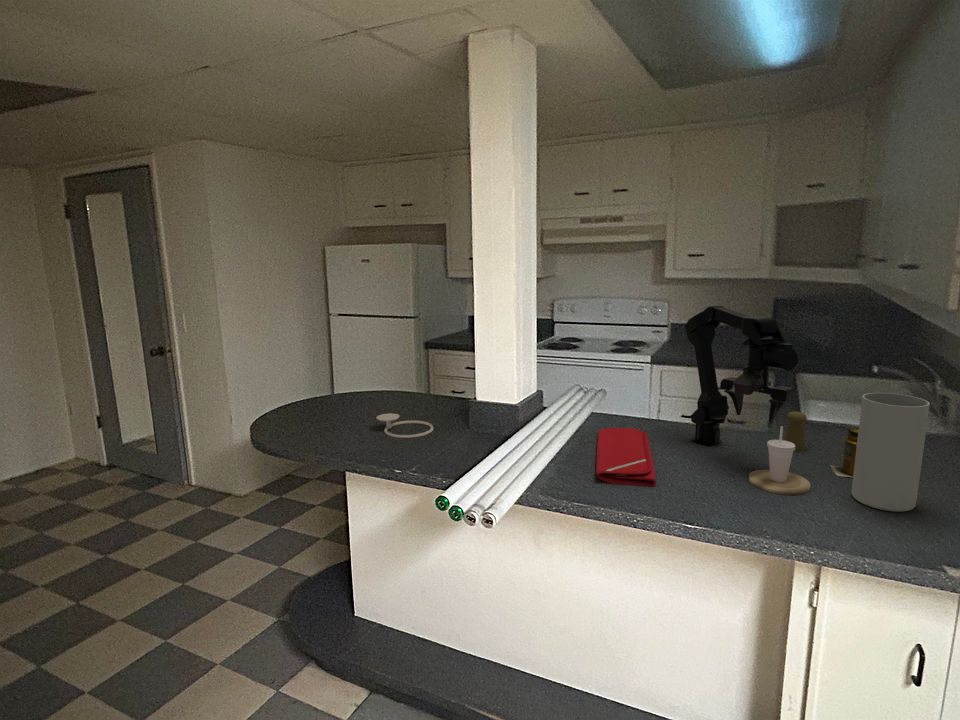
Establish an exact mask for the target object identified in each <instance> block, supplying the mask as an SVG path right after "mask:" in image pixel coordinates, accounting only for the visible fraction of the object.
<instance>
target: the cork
mask: <svg viewBox="0 0 960 720" xmlns="http://www.w3.org/2000/svg"><path fill="white" fill-rule="evenodd" d="M807 420H808V417H807V415H806V414H805V413H804V412H801V411H795V410H794V411H789V412H788V413H787V415H786V421H788V423H787V427H786V431H785V434H784V439H783V440H784V441H789V442H791V443H793V444H795V450H794V451H797V452H802V451H805V450H806V436H805V435H806V434H805V432H806V431H805V423H807ZM794 451H793V452H794Z"/></svg>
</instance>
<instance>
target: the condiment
mask: <svg viewBox="0 0 960 720" xmlns="http://www.w3.org/2000/svg"><path fill="white" fill-rule="evenodd" d="M847 431H848V432H847V435H846V436H847V438H845V441H844V451H843V457H842V458H843V460H842V466H838V465H831V464H830V465H829V466H830V468H831V470H832V472H833V473H834V474H835V475H836V477H843V478H844V477H847V478H853V475H854V466H855V457H856V448H857V440H858V431H859V427H852V428H849V429H848V430H847Z"/></svg>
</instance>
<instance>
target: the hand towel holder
mask: <svg viewBox="0 0 960 720" xmlns="http://www.w3.org/2000/svg"><path fill="white" fill-rule="evenodd" d="M400 416H401V415H399V414H398V413H389V412H388V413H382V414H379V415H377V416H376V420H378V421H380V422H385V423H386V424H385V427H384V429H383V430H384V434H385V435H387V436H389V437H391V438H399V439H410V438H411V439H412V438H419V437H423V436H426V435H430V433H432V432H433V431H434V426H433V424H432V423H431V422H427V421H423V420H415V419H414V420H403V421H402V420H401V421H398V419H399V418H400ZM394 421H396V422H394ZM407 424H419V425H425V426H428V427H430V429H429V430H426V431H425V432H420V433H416V434H414V433H413V434H397V433H395V434H394V433H392V432H389V431H388V430H389V429H392V428H393V427H396V426H400V425H407Z"/></svg>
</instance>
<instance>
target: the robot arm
mask: <svg viewBox="0 0 960 720" xmlns="http://www.w3.org/2000/svg"><path fill="white" fill-rule="evenodd" d="M721 324H724V325H726V326H729V327H731V328H735V329H737V330H739V331H740V333H741V334H742V335H743V336H745V337H746V338H747V339H746V340H744V341H743V342H742V345H743V346H747V356H746V357H747V359H746V361H747V362H746V366H743V370H742V371H743V372H742V374H740V375H739V376H738V377H734V376H731V377H730V376H729V377H726V378H723V379H722V380H721V381H720V382H719V383H720V384H719V385H718V379H717V373H716V371H717V370H716V366H715V359H714V354H713V353H714V352H713V346H712V344H713V341H714V339H715V337H716V329H718V327H719V326H720V325H721ZM684 328H685V333H686V337H687V340H688V341H689V342H690V344H691V345H692V346H693V348H694V352H695V358H696V366H697V372H698V378H699V380H698V381H699V387H700V394H699V398H698V400H697V409H695V410H694V412H693V413H692V414H690V419H691V420H690V421H691V423H693V424H695V430H694V431H695V433H694V438H692V439H691V441H692V442H695V443H698V444H701V445H704V446H705V445H706V446H710V447H711V446H714V445H717V444H719V442H720V443H722V440H721V429H720V425H721V424H724V423H725V421H726V418H727V416H728V415H729V409H730V407H729V404H728V397H727V395H722V393H721V392H720V391H719V389H721V390H723V391H724V393H725V394H728V396H730V398H731V401H732V402H733V407H734V409H735V413H736V415H737V416H741V414H742V410H743V403H744V395H745V396H751V395H753V394H754V392H755V393H756V392H757V393H761V394H766V395H769V397H770V398H771V399H768V401H769V404H770V407H769V415H768V423H770V424H771V423H774V420H775V418H776V416H777V415H778V413H779V411H780V410H781V409H782V407H784V405H785V403H786V402H790V401H791V400H794V399H796V396H797V391H796V389H795V388H794V387H790V386H784V385H779V386H776V387H770V386H772V381H770V373H771V372H772V371H773V368H774V369H779V370H782V371H787V372H790V371H793V369H794V368H796V366H797V364H798V361H799V356H798V353H797V351H796V350H795V349H793V344H792V343H786V341H785V339H784V336H783V334H782V332H781V330H780V328H779V326H778V324H777V320H776V319H775V318H773V317H770V316H769V317H768V316H752V315H747V314H745V313H742V312H740V311H736V310H733V309H729V308H726V307H725V306H723V305H710V306H707V307H706V308H705V309H704V310H702V311H701V312H699V313H697V314H695V315H694V316H692V317H691V318H688V320H687V322H686V323H685V326H684Z"/></svg>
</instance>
